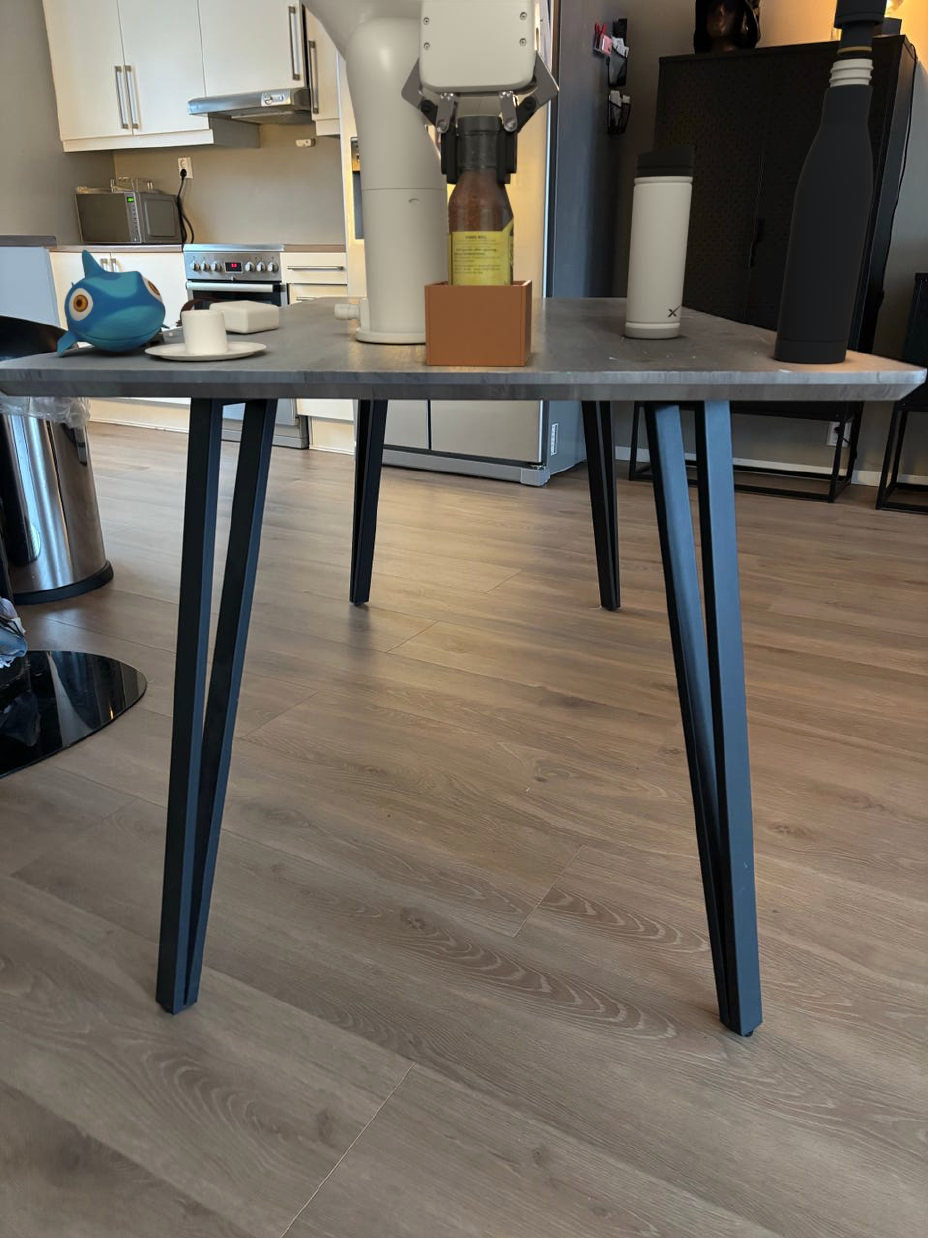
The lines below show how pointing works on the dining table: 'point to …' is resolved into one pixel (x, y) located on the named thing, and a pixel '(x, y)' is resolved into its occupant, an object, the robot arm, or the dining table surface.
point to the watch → (191, 303)
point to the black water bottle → (832, 204)
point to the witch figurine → (176, 326)
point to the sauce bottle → (479, 209)
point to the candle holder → (204, 340)
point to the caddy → (478, 324)
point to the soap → (248, 316)
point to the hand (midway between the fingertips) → (478, 181)
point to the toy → (111, 309)
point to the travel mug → (659, 242)
